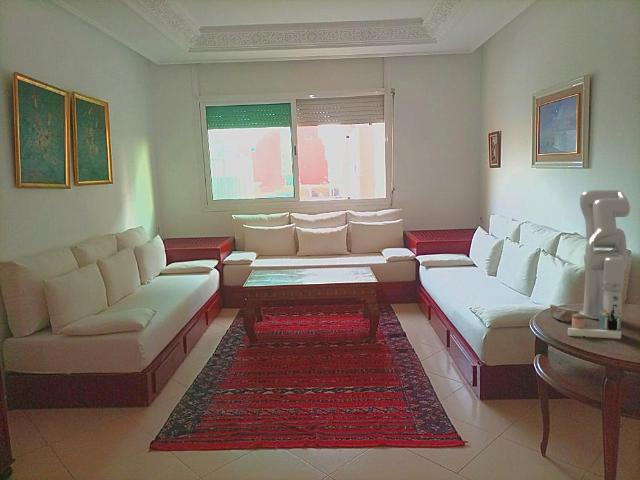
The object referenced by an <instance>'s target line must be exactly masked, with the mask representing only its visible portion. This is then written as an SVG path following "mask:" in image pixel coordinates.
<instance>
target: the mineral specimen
mask: <svg viewBox="0 0 640 480" xmlns="http://www.w3.org/2000/svg"><path fill="white" fill-rule="evenodd" d="M549 311H550V315H551V316H552V317H553V318H554V319H556V320H559V321H560V322H564V323H565V322H568V323H569V322H572V314H576V313H577V314H579V312H578V310H575V309H572V308H567V307H560V306H558V305H555V304H549Z"/></svg>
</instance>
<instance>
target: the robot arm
mask: <svg viewBox="0 0 640 480" xmlns="http://www.w3.org/2000/svg"><path fill="white" fill-rule="evenodd" d="M579 206H580V210H581V212H582V215H583V217H584V221H585V237H586V244H585V248H584V250H585V254H584V258H583V261H584V262H583V263H584V270H585V273H584V277H585V278H584V295H583V308H582V309H581V310H579V314H583V315H585V316H586V318H587V319H591V320H599V316H600V312H599V311H606V312H607V313H609V318H610V320H609V322H608V329H609V330H617V322H618V314H619V315H620V314H621V315H622V307H623V306H622V305H623V301H622V299H623V295H622V292H623V291H624V278H625V270H626V269H627V267H628V251H627V250H628V249H627V238H626V233H625V232H624V230H623V229H622V228H620V227H619V228H617V220H616V218H626V217H629V215H630V212H631V206H630V202H629V199H628V197H626V195H625V194H624V192H623V191H622V190H619V189H608V190H607V189H594V190H593V189H592V190H591V189H590V190H586V191H584V192H582V193H581V194H580V197H579ZM594 248H595V250H594ZM601 249H602V250H601ZM606 249H610V250H606ZM611 249H612V250H611ZM611 312H614V313H611ZM612 315H614V316H612ZM586 318H585V319H586Z"/></svg>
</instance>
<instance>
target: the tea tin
mask: <svg viewBox="0 0 640 480" xmlns="http://www.w3.org/2000/svg"><path fill="white" fill-rule="evenodd" d="M599 312H600V316H599V319H598V330H609V329H608V322H609V320H610V318H609V313H607V312H606V311H599ZM611 313H614V312H611ZM612 316H614V315H612ZM622 316H623V315H622V313H621V314H620V315H619V314H618V322H617V330H614V331H621V329H622V318H623V317H622ZM621 332H622V331H621Z"/></svg>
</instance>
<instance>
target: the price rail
mask: <svg viewBox="0 0 640 480" xmlns="http://www.w3.org/2000/svg"><path fill="white" fill-rule="evenodd" d="M567 336H570V337H583V336H585V337H584V338H587V337H588V338H600V339H601V338H605V339H616V340H617V339H622V331H614V330H599V329H594V328H593V329H592V328H585V329H578V328H572V327H567Z"/></svg>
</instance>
